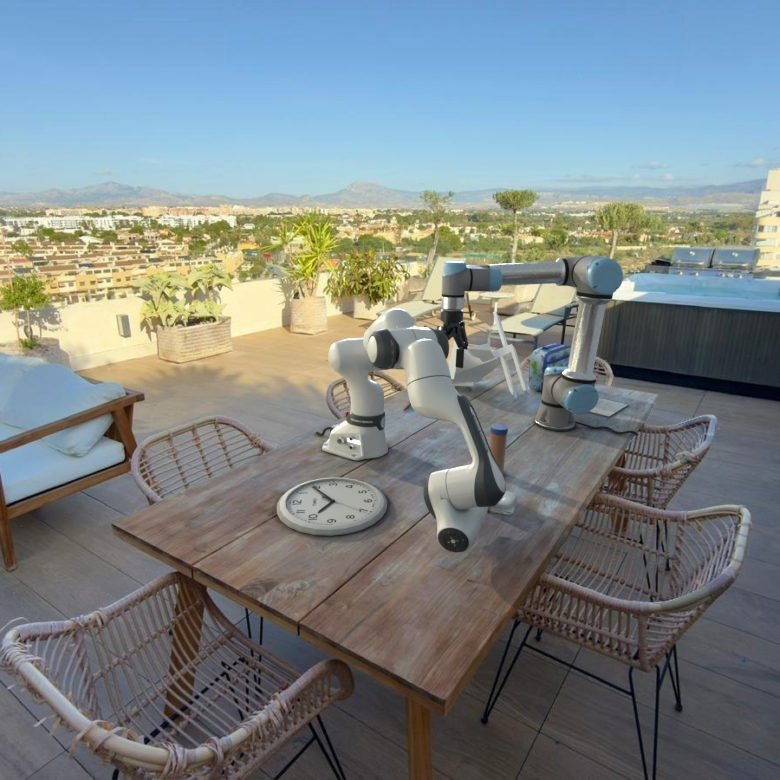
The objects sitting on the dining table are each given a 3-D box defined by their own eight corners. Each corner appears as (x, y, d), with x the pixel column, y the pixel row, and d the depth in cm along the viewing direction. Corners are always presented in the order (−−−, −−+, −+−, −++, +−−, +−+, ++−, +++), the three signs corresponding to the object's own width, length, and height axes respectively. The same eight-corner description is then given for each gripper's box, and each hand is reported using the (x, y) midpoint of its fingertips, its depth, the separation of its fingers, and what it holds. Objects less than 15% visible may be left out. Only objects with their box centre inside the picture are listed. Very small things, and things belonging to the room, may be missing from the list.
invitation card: (608, 416, 214) (573, 407, 224) (608, 416, 214) (573, 408, 224) (628, 404, 229) (594, 396, 238) (628, 405, 229) (594, 397, 238)
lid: (487, 430, 160) (487, 425, 159) (500, 427, 162) (501, 422, 162) (497, 436, 156) (497, 431, 155) (511, 433, 158) (511, 428, 157)
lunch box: (544, 395, 239) (549, 351, 233) (524, 390, 247) (528, 347, 240) (571, 384, 257) (577, 343, 251) (552, 380, 264) (556, 339, 258)
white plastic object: (461, 429, 252) (437, 405, 227) (444, 352, 274) (420, 323, 250) (535, 404, 240) (518, 377, 215) (510, 326, 262) (492, 293, 237)
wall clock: (392, 527, 129) (268, 531, 127) (391, 533, 130) (269, 537, 127) (383, 473, 158) (282, 475, 155) (383, 478, 158) (282, 480, 156)
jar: (484, 471, 164) (488, 426, 159) (497, 469, 166) (500, 424, 162) (493, 478, 160) (497, 432, 155) (506, 475, 162) (510, 429, 157)
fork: (400, 411, 216) (400, 406, 215) (412, 399, 230) (412, 395, 230) (406, 412, 215) (406, 407, 215) (418, 400, 230) (418, 396, 229)
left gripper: (513, 504, 124) (522, 480, 136) (431, 488, 131) (446, 466, 144) (511, 528, 126) (520, 501, 138) (430, 510, 133) (445, 487, 146)
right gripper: (462, 304, 185) (458, 362, 191) (421, 312, 166) (418, 376, 172) (480, 306, 180) (476, 366, 187) (440, 315, 162) (437, 380, 168)
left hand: (482, 483), depth 141 cm, fingers open, 8 cm apart
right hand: (448, 371), depth 180 cm, fingers open, 13 cm apart
